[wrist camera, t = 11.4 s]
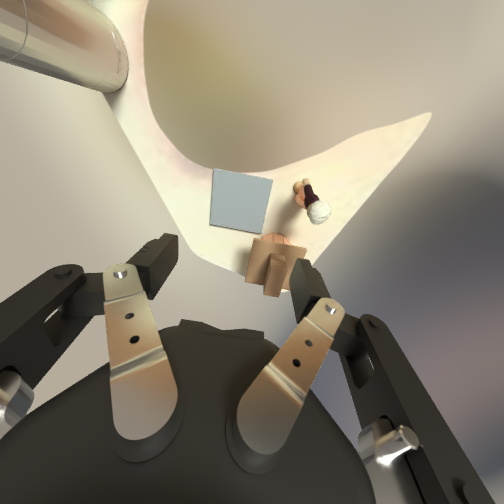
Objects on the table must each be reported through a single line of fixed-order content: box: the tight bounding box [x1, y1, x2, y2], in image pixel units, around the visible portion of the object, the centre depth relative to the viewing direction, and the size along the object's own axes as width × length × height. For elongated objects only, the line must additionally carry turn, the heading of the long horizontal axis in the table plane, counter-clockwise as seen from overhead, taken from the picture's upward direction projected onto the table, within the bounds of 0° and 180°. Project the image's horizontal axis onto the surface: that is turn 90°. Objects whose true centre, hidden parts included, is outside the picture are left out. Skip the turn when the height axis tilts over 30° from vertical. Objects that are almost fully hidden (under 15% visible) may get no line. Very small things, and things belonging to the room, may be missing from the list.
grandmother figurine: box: [294, 178, 332, 224], centre depth 31 cm, size 8×4×13 cm, turn 37°
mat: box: [210, 168, 273, 234], centre depth 38 cm, size 11×11×1 cm
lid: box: [245, 238, 307, 297], centre depth 36 cm, size 10×10×6 cm
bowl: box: [260, 233, 291, 245], centre depth 40 cm, size 8×8×6 cm
